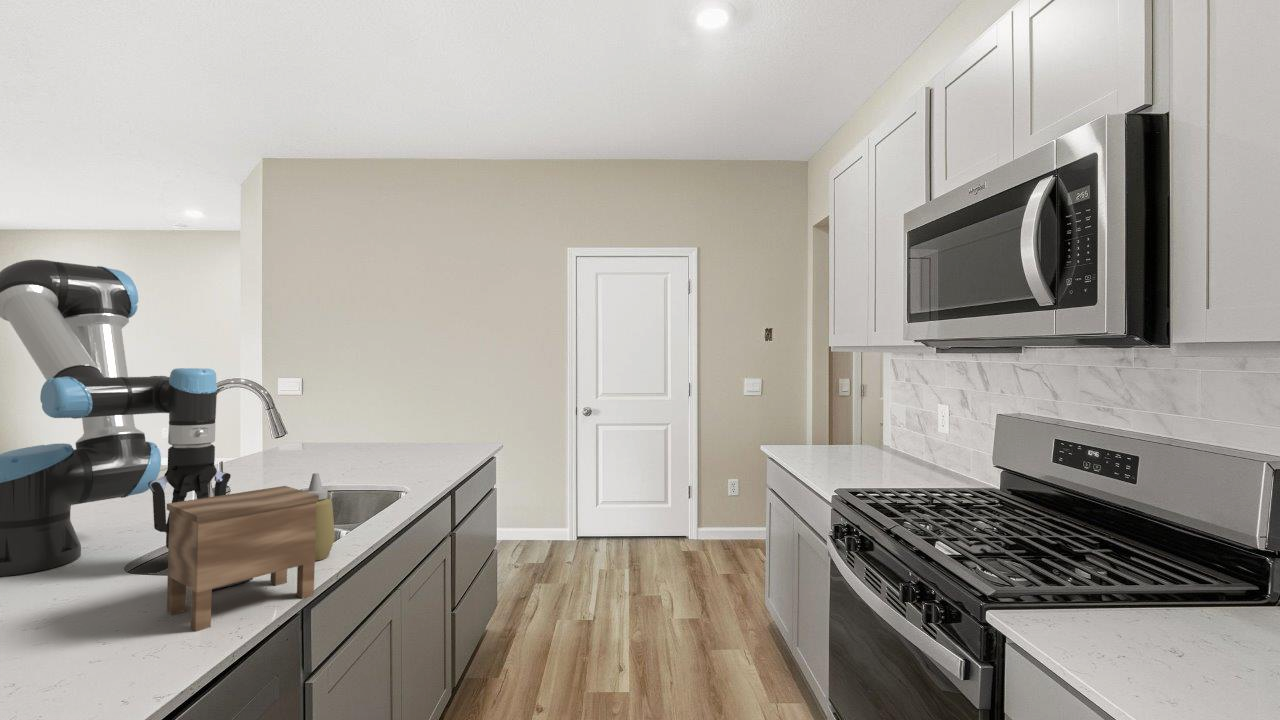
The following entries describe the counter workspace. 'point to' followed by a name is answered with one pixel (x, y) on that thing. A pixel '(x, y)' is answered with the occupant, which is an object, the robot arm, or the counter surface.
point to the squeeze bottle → (322, 519)
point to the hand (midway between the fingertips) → (188, 561)
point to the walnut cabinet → (238, 544)
